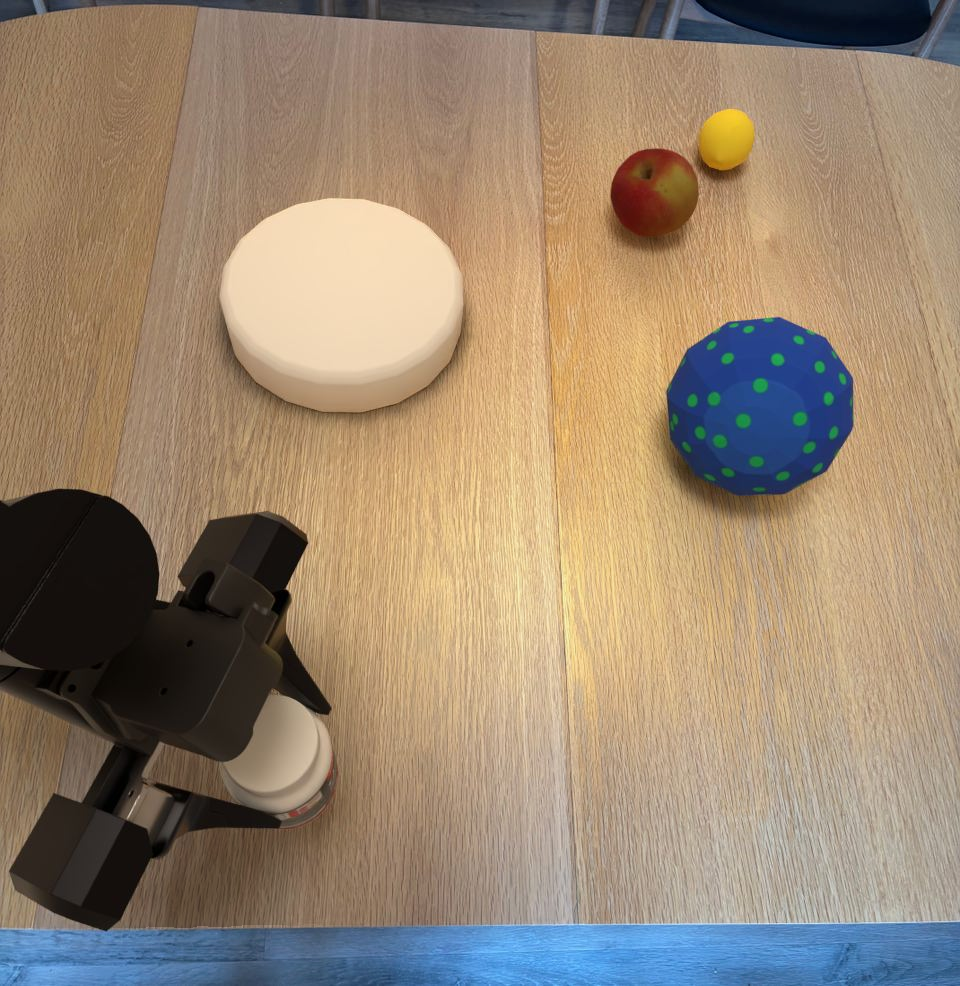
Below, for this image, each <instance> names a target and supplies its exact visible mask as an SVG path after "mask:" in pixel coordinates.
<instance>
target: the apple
mask: <svg viewBox="0 0 960 986" xmlns="http://www.w3.org/2000/svg"><path fill="white" fill-rule="evenodd" d="M699 193H700V191H699V182H698V177H697V174H696V172H695V169H694V168H693V166H692V164H691V163H690V162H689V161H688V159H686V158H685V157H684V156H683V155H681V154H679V153H677V152H676V151H673V150H670V149H667V148H655V147H654V148H645V149H641V150H638V151H636V152H634V153H631V154H630V155H629V156H628V157H627V158H626V159H625V160H624V161H623V162H621V164H620V165H619V166H618V168H617V170H616V171H615V174H614V175H613V177H612V180H611V185H610V193H609V194H610V200H611V201H610V202H611V205H612V208H613V211H614V213H615V216H616V218H617V219H618V220H619V222H620V224H621V225H622V226H624V228H625V229H627V231H628V230H629V232H631V233H632V234H635V235H637V236H640V237H643V238H656V237H660V236H661V237H662V236H664V235H668V234H672V233H674V232H676V231H678V230H679V229H681V228H682V227H684V226H685V224H686V223H687V222H688V221H689V220H690V219H691V217H692V216H693V214H694V213H695V210H696V208H697V206H698V203H699V195H700V194H699Z"/></svg>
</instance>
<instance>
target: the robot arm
mask: <svg viewBox="0 0 960 986" xmlns="http://www.w3.org/2000/svg"><path fill="white" fill-rule="evenodd" d="M308 545H309V540H308V534H307V533H306V532H304V531H303V530H301V529H300V528H299V527H298V526H297V525H295V524H294V523H293V522H291V521H290V520H288V519H287V518H286V517H284V516H283V515H280V514H278V513H275V512H271V511H270V510H265V511H258V512H250V513H243V514H236V515H229V516H222V517H218V518H213V519H209V520H208V522H207V524H206V525H205V527H204V529H203V530H202V532H201V534H200V536H199V537H198V539H197V541H196V543H195V544H194V546H193V548H192V549H191V551H190V553H189V555H188V557H187V559H186V560H185V562H184V563H183V565H182V567H181V569H180V571H179V572H178V574H177V579H178V580H179V582H180V584H181V585H182V587H184V590H179V589H178V590H177V591H176V593H175V594H174V595H173V598H172V600H171V601H165V600H162V599H157V598H158V596H159V587H160V567H159V560H158V553H157V550H156V548H155V546H154V542H153V540H152V538H151V535H150V534H149V532H148V531H147V529H146V527H145V526H144V525H143V523H142V522H141V521H140V519H139V518H138V517H137V516H136V515H135V514H134V513H133V512H132V511H131V510H129V509H128V508H127V507H126V506H125V505H124V504H123V503H121V502H119V501H117V500H116V499H115V498H112V497H111V496H108V495H102V494H100V493H96V492H92V491H89V490H85V489H81V488H55V489H54V488H53V489H50V490H49V489H48V490H45V491H44V490H43V491H39V492H34V493H30V494H27V495H21V496H18V497H14V498H10V499H6V500H2V499H0V691H1V692H4V693H5V694H8V695H9V696H12V697H14V698H15V699H18V700H20V701H21V702H22V701H23V702H24V703H26V704H28V705H31V706H33V707H35V708H36V709H39V710H41V711H43V712H45V713H48V714H50V715H52V716H53V717H56V718H58V719H59V720H62V721H64V722H66V723H68V724H71V725H73V726H75V727H78V728H80V729H81V730H83V731H85V732H87V733H89V734H91V735H94V736H95V737H97V738H100V739H102V740H104V741H105V742H108V743H109V744H110V743H111V744H112V747H111V749H110V751H108V754H107V756H106V757H105V759H104V761H103V763H102V765H101V767H100V768H99V770H98V772H97V773H96V776H95V778H94V779H93V781H92V783H91V785H90V786H89V788H88V790H87V792H86V793H85V795H84V798H83V799H82V801H78V800H76V799H72V798H69V797H67V796H65V795H64V796H63V795H61V794H58V793H55V792H53V793H52V795H51V796H50V798H49V800H48V802H47V803H46V805H45V807H44V808H43V810H42V812H41V814H40V815H39V818H38V819H37V821H36V823H35V824H34V826H33V827H32V829H31V831H30V833H29V834H28V836H27V838H26V840H25V842H24V844H23V845H22V847H21V848H20V850H19V852H18V854H17V856H16V857H15V860H14V861H13V863H12V865H11V866H10V867H9V870H8V874H9V877H10V880H11V882H12V886H13V889H14V891H15V892H17V893H19V894H21V895H22V896H24V897H26V898H27V899H29V900H31V901H32V902H34V903H36V904H37V905H39V906H41V907H43V908H44V909H46V910H47V911H49V912H51V913H53V914H55V915H58V916H60V917H63V918H65V919H68V920H70V921H73V922H76V923H79V924H82V925H85V926H88V927H91V928H94V929H97V930H100V931H103V932H108V931H109V930H110V929H112V928H113V927H114V926H115V925H116V924H118V923H119V922H120V921H121V919H122V918H123V916H124V913H125V912H126V910H127V907H128V906H129V904H130V901H131V900H132V898H133V896H134V894H135V892H136V889H137V887H138V886H139V883H140V882H141V879H142V877H143V876H144V873H145V872H146V870H147V867H148V866H149V863H150V861H151V859H152V860H154V861H159V860H162V859H164V858H165V857H166V856H167V855H168V854H169V853H170V851H171V849H172V848H173V846H174V843H175V842H176V840H177V839H179V838H181V837H183V836H185V835H186V834H189V833H192V832H198V831H204V830H205V831H206V830H213V829H254V830H255V829H257V830H259V829H260V830H280V829H279V828H280V826H281V824H282V820H280V819H278V818H276V817H274V816H272V815H270V814H268V813H266V812H264V811H260V810H257V809H253V808H250V807H246V806H242V805H240V804H239V803H235V802H233V801H232V802H231V801H227V800H224V799H220V798H218V797H217V798H216V797H213V796H210V795H205V794H202V793H199V792H195V791H191V790H187V789H184V788H180V787H177V786H173V785H171V784H170V785H169V784H165V783H162V782H159V781H154V780H152V779H150V778H148V777H149V775H150V773H151V771H152V769H153V768H154V766H155V764H156V762H157V760H158V758H159V756H160V754H161V752H162V751H163V748H164V746H165V745H167V746H171V747H173V748H177V749H179V750H183V751H186V752H188V753H192V754H195V755H199V756H201V757H205V758H206V759H209V760H212V761H215V762H217V763H218V762H228V761H231V760H233V759H235V758H237V757H238V756H239V755H240V754H241V753H242V752H243V751H244V750H245V749H246V747H247V746H248V744H249V742H250V740H251V738H252V736H253V727H254V724H255V722H256V720H257V718H258V716H259V714H260V712H261V710H262V708H263V705H264V703H265V701H266V699H267V697H268V695H270V693H271V692H272V690H274V691H276V692H277V693H279V694H280V695H283V696H287V697H290V698H292V699H294V700H296V701H298V702H299V703H301V704H302V705H304V706H306V707H308V708H309V709H311V710H312V711H313V712H314V713H316V714H317V715H320V716H321V715H322V716H323V715H324V716H330V714H331V712H332V709H333V708H332V706H331V704H330V703H329V702H328V699H327V698H326V697H325V696H324V694H323V693H322V690H321V689H320V688H319V686H318V685H317V683H316V682H315V680H314V679H313V677H312V675H311V674H310V673H309V672H308V670H307V668H306V666H304V664H303V662H302V661H301V659H300V658H299V656H298V654H297V652H296V650H295V648H294V646H293V644H292V642H291V640H290V638H289V636H288V633H287V617H288V611H289V609H290V607H291V604H292V602H293V598H292V594H291V592H290V591H289V590H288V589H287V587H288V585H289V583H290V581H291V579H292V577H293V575H294V573H295V572H296V569H297V567H298V565H299V563H300V561H301V559H302V557H303V555H304V553H305V552H306V549H307V547H308Z"/></svg>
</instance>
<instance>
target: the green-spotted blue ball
mask: <svg viewBox="0 0 960 986" xmlns="http://www.w3.org/2000/svg"><path fill="white" fill-rule="evenodd" d="M665 392H666V407H667V419H668V421H667V422H668V432H669V433H668V434H669V440H670V443H671V444H672V445H673V446H674V448H675V449H676V451H677V452H678V454H679V455H680V456H681V458H682V459H683V461H684V462H685V463H686V465H687V466H688V467H689V469H690V470H691V472H692V473H693V475H694V476H695V477H696V478H699V479H701V480H703V481H705V482H707V483H709V484H711V485H714V486H715V487H718V488H720V489H722V490H724V491H725V492H728V493H730V494H731V495H734V496H737V497H741V496H742V497H743V496H746V497H747V496H780V495H781V496H782V495H787V494H788V493H790V492H792V491H794V490H795V489H797V488H799V487H801V486H803V485H804V484H806V483H808V482H810V481H812V480H814V479H815V478H817V477H819V476H821V475H822V474H825V473H827V472H828V470H829V469H830V467H831V466H832V464H833V462H834V461H835V458H836V457H837V455H838V454H839V452H840V450H841V449H842V448H843V446H844V444H845V443H846V441H847V440H848V438H849V437H850V435H851V433H852V431H853V429H854V425H855V423H854V419H855V417H854V416H855V415H854V414H855V413H854V377H853V376H852V374H851V373H850V371H849V369H848V367H847V366H846V365H845V364H844V362H843V361H842V360H841V358H840V356H839V355H838V353H837V352H836V351H835V348H834V347H833V346H832V344H831V343H830V341H829V340H828V338H827V337H825V336H824V335H821V334H819V333H817V332H814V331H812V330H811V329H808V328H805V327H803V326H801V325H799V324H796V323H794V322H792V321H789V320H787V319H785V318H784V317H781V316H773V317H764V318H762V317H761V318H753V319H744V320H743V319H742V320H741V319H740V320H731V321H727V322H725V323H723V325H721V326H720V327H718V328H716V329H715V330H713V331H712V332H710V333H709V334H708V335H706V336H704V337H703V338H702V339H700V340H699V341H697V342H695V343H694V344H693V345H691V346H690V347H688V348H687V349H686V351H685V352H684V354H683V356H682V359H681V360H680V362H679V364H678V366H677V368H676V371H675V372H674V374H673V377H672V378H671V381H670V382H669V385H668V386H667V388H666V391H665Z"/></svg>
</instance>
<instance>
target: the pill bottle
mask: <svg viewBox="0 0 960 986" xmlns="http://www.w3.org/2000/svg"><path fill="white" fill-rule="evenodd" d="M218 764H219V772H220V776H221V779H222V782H223V784H224V786H225V788H226V790H227V792H228V793H229V795H230V796H231V797H232V798H233V799H234V801H235V802H237V804H239V805H242V806H246V807H250V808H253V809H257V810H260V811H264V812H266V813H268V814H270V815H272V816H274V817H276V818H278V819H280V820H282V824H281V826H280V828H279V829H278V830H279V831H289V830H295V829H299V828H301V827H304V826H306V825H307V826H308V825H309V824H310V823H312V822H313V821H315V820H317V819H318V818H319V817H320V816H321V815H322V814H323V813H324V812H325V811H326V810H327V809H328V807H329V806H330V804H331V802H332V800H333V798H334V797H335V794H336V791H337V787H338V784H339V783H338V782H339V766H338V761H337V757H336V754H335V751H334V746H333V742H332V739H331V735H330V732H329V729H328V728H327V726H326V725H325V723H324V722H323V720H322V719H321V718H320V717H319V714H317V713H315V712H313V711H312V710H311V709H309V708H308V707H306V706H304V705H302V704H301V703H299V702H298V701H296V700H294V699H292V698H290V697H287V696H284V695H282V694H269V695H268V697H267V699H266V701H265V703H264V705H263V708H262V710H261V712H260V714H259V716H258V718H257V720H256V722H255V724H254V727H253V736H252V738H251V740H250V742H249V744H248V746H247V747H246V749H245V750H244V751H243V752H242V753H241V754H240V755H239V756H238V757H237V758H235V759H233V760H231V761H228V762H219V763H218Z"/></svg>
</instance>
